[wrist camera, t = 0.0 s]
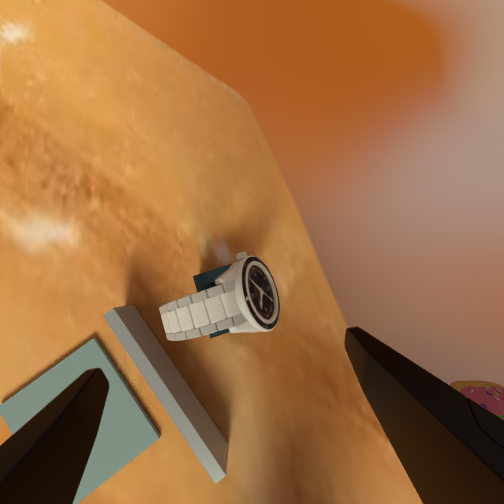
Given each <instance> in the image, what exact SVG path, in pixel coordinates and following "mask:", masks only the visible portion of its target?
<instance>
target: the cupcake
mask: <svg viewBox="0 0 504 504" xmlns="http://www.w3.org/2000/svg"><path fill="white" fill-rule="evenodd" d="M450 386H451V387H453V388H454V389H456V390H457V391H459V392H460V393H462V394H463V395H465V396H466V398H470V399H471V400H473V401H475V402H476V403H478V404H479V405H481V406H482V407H484V408H485V409H487V410H489V411H490V412H492V413H494V414H495V415H497V416H498V417H500V418H502V419H503V420H504V387H503V386H501V385H499V384H496V383H491V382H485V381H457V382H453V383H451V385H450Z"/></svg>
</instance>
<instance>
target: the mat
mask: <svg viewBox="0 0 504 504" xmlns="http://www.w3.org/2000/svg"><path fill="white" fill-rule="evenodd" d="M92 368H101V369H102V370H103V372H104V374H105V376H106V378H107V379H108V381H109V392H108V396H107V399H106V403H105V407H104V411H103V415H102V419H101V422H100V426H99V430H98V433H97V437H96V440H95V443H94V446H93V449H92V451H91V454H90V457H89V460H88V463H87V465H86V468H85V471H84V474H83V476H82V479H81V482H80V485H79V488H78V490H77V493H76V496H75V499H74V501H73V504H78V503H79V502H80V501H81V500H83V499H84V498H85V497H86V496H88V495H89V494H90V493H91V492H93V491H94V490H95V489H96V488H98V487H99V486H100V485H101V484H103V483H104V482H105V481H106V480H108V479H109V478H110V477H111V476H113V475H114V474H115V473H116V472H118V471H119V470H120V469H121V468H123V467H124V466H125V465H126V464H128V463H129V462H130V461H131V460H133V459H134V458H135V457H136V456H138V455H139V454H140V453H141V452H143V451H144V450H145V449H146V448H148V447H149V446H150V445H151V444H153V443H154V442H155V441H156V440H158V439H159V438H160V436H161V435H160V434H159V432H158V431H157V429H156V428H155V426H154V424H153V423H152V421H151V420H150V418H149V417H148V415H147V414H146V412H145V411H144V409H143V408H142V406H141V405H140V403H139V402H138V400H137V399H136V397H135V396H134V394H133V393H132V391H131V390H130V388H129V386H128V385H127V383H126V382H125V380H124V379H123V377H122V376H121V374H120V373H119V371H118V370H117V368H116V367H115V365H114V364H113V362H112V361H111V359H110V358H109V356H108V355H107V353H106V351H105V350H104V348H103V347H102V345H101V344H100V342H99V341H98V339H97V338H96V337H95V338H93V339H92V340H90V341H89V342H87V343H86V344H85V345H83V346H82V347H80V348H79V349H78V350H76V351H75V352H74V353H72V354H71V355H69V356H68V357H67V358H65V359H64V360H62V361H61V362H60V363H58V364H57V365H55V366H54V367H53V368H51V369H50V370H49V371H47V372H46V373H44V374H43V375H42V376H40V377H39V378H37V379H36V380H35V381H33V382H32V383H31V384H29V385H28V386H26V387H25V388H24V389H22V390H21V391H19V392H18V393H17V394H15V395H14V396H12V397H11V398H10V399H8V400H7V401H6V402H4V403H3V404H1V405H0V414H1V415H2V417H3V419H4V420H5V422H6V424H7V425H8V427H9V429H10V430H11V432H12V434H14V433H15V432H16V431H18V430H19V429H20V428H21V427H22V426H23V425H24V424H25V423H27V422H28V421H29V420H30V419H31V418H32V417H33V416H35V415H36V414H37V413H38V412H39V411H40V410H41V409H43V408H44V407H45V406H46V405H47V404H48V403H49V402H50V401H52V400H53V399H54V398H55V397H56V396H57V395H58V394H60V393H61V392H62V391H63V390H64V389H65V388H66V387H68V386H69V385H70V384H71V383H72V382H73V381H74V380H75V379H77V378H78V377H79V376H80V375H81V374H82V373H83V372H85V371H86V370H88V369H92Z"/></svg>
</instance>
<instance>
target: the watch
mask: <svg viewBox="0 0 504 504" xmlns="http://www.w3.org/2000/svg"><path fill="white" fill-rule="evenodd" d="M236 259H237V260H239V261H237V262H235V263H233V264H231V265H227V266H224V267H221V268H218V269H214V270H211V271H208V272H205V273H202V274H198V275H195V276H193V278H194V282H195V285H196V289H197V292H198V293H195V294H192V295H186V296H185V297H184V298H181V299H178V300H175V301H172V302H169V303H166V304H164V305H163V306H161V307H159V310H160V314H161V318H162V322H163V326H164V329H165V332H166V337H167V339H168V340H171V341H175V340H177V341H179V340H186V339H190V338H195V337H200V336H202V335H207V334H210V338H213V337H216V336H219V335H222V334H225V333H228V332H230V333H240V332H253V333H254V332H260V331H264V332H267V331H271V330H273V329H274V328H275V327H276V325H277V323H278V320H279V314H280V304H279V296H278V292H277V288H276V285H275V282H274V279H273V277H272V275H271V273H270V271H269V269H268V268H267V266H266V265H265V264H264V262H263V261H262V260H260V259H259V258H258V257H256V256H253V255H250V256H248V255H247V252H246V251H245V252H240V253H238V254H236Z"/></svg>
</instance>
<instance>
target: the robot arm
mask: <svg viewBox="0 0 504 504" xmlns="http://www.w3.org/2000/svg"><path fill="white" fill-rule="evenodd" d="M345 349H346V352H347V354H348V357H349V359H350V361H351V364H352V366H353V369H354V371H355V373H356V376H357V378H358V381H359V383H360V385H361V388H362V390H363V392H364V394H365V396H366V398H367V400H368V402H369V404H370V405H371V407H372V409H373V411H374V413H375V415H376V417H377V419H378V420H379V422H380V424H381V426H382V428H383V430H384V432H385V433H386V435H387V437H388V439H389V441H390V443H391V445H392V446H393V448H394V450H395V452H396V454H397V456H398V458H399V460H400V461H401V463H402V465H403V467H404V469H405V471H406V473H407V474H408V476H409V478H410V480H411V482H412V484H413V486H414V487H415V489H416V491H417V493H418V495H419V497H420V499H421V501H422V502H423V504H504V420H503V419H502V418H500V417H498V416H497V415H495V414H494V413H492V412H490V411H489V410H487V409H485V408H484V407H482V406H481V405H479V404H478V403H476V402H475V401H473V400H471V399H470V398H466V396H465V395H463V394H462V393H460V392H459V391H457V390H456V389H454V388H453V387H451V386H449V385H448V384H446V383H445V382H443V381H442V380H440V379H438V378H437V377H435V376H434V375H432V374H431V373H429V372H428V371H426V370H424V369H423V368H421V367H420V366H418V365H417V364H415V363H413V362H412V361H411V360H409V359H407V358H406V357H404V356H403V355H401V354H400V353H398V352H397V351H395V350H393V349H392V348H390V347H389V346H387V345H386V344H384V343H383V342H381V341H379V340H378V339H376V338H375V337H373V336H372V335H370V334H369V333H367V332H365V331H364V330H362V329H361V328H359V327H350V328H347V329H346V334H345ZM108 392H109V381H108V379H107V378H106V376H105V374H104V372H103V370H102V369H101V368H92V369H88V370H86V371H85V372H83V373H82V374H81V375H80V376H79V377H78V378H77V379H75V380H74V381H73V382H72V383H71V384H70V385H69V386H68V387H66V388H65V389H64V390H63V391H62V392H61V393H60V394H58V395H57V396H56V397H55V398H54V399H53V400H52V401H50V402H49V403H48V404H47V405H46V406H45V407H44V408H43V409H41V410H40V411H39V412H38V413H37V414H36V415H35V416H33V417H32V418H31V419H30V420H29V421H28V422H27V423H25V424H24V425H23V426H22V427H21V428H20V429H19V430H18V431H16V432H15V433H14V434H13V435H12V436H11V437H10V438H8V439H7V440H6V441H5V442H4V443H3V444H2V445H0V504H73V501H74V499H75V496H76V493H77V490H78V488H79V485H80V482H81V479H82V476H83V474H84V471H85V468H86V465H87V463H88V460H89V457H90V454H91V451H92V449H93V446H94V443H95V440H96V437H97V433H98V430H99V426H100V422H101V419H102V415H103V411H104V407H105V403H106V399H107V396H108Z"/></svg>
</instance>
